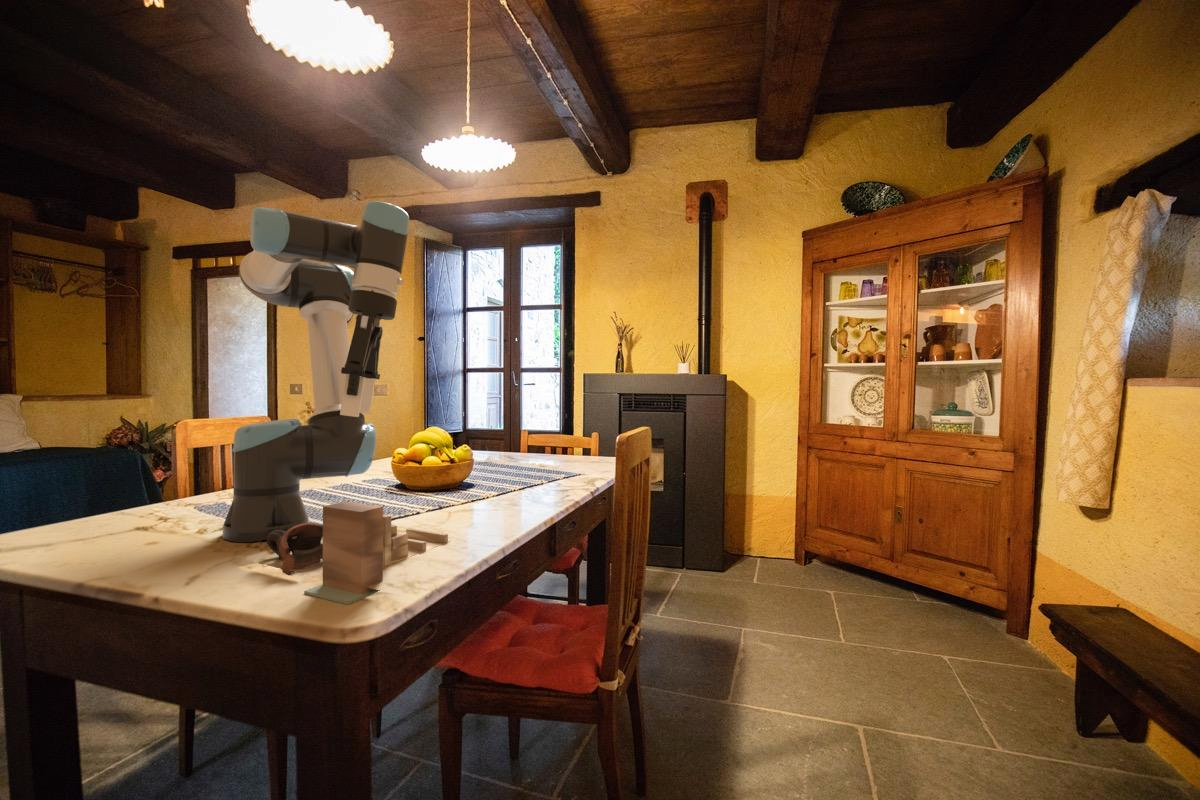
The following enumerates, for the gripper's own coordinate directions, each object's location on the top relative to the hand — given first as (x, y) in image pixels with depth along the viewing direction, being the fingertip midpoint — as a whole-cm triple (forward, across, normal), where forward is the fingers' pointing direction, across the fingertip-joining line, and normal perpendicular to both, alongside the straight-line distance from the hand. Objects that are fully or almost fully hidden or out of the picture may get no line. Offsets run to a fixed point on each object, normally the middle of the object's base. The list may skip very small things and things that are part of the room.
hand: (356, 414), depth 91 cm
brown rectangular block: (+25, -13, -5) cm, 29 cm away
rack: (+25, +2, -10) cm, 27 cm away
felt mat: (+25, -13, -5) cm, 29 cm away
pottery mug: (+27, 0, +5) cm, 27 cm away
